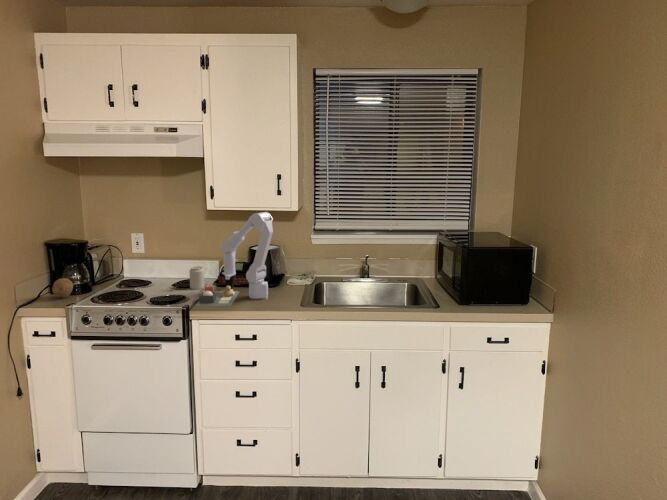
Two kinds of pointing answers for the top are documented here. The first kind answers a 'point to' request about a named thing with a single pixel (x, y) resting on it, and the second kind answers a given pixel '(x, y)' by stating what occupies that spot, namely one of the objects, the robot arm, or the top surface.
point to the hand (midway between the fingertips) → (230, 289)
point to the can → (196, 277)
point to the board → (216, 299)
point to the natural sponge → (62, 287)
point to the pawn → (228, 292)
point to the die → (209, 288)
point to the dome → (207, 293)
